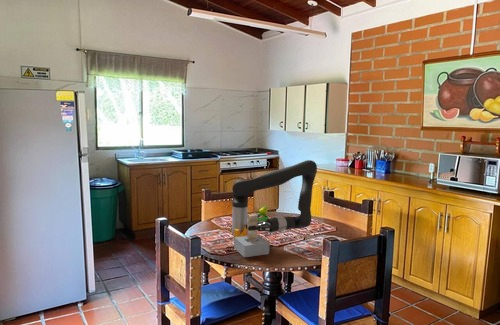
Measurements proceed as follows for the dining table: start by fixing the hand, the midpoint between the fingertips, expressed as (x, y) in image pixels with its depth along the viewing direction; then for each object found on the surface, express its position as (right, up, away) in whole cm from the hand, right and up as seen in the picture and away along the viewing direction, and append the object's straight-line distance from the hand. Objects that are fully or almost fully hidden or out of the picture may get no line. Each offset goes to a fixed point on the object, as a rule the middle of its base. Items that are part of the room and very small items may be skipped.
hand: (247, 227), depth 186 cm
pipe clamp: (-3, -11, +23) cm, 25 cm away
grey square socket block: (+2, -13, +3) cm, 13 cm away
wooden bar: (+2, -9, +2) cm, 10 cm away
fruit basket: (+9, -7, +57) cm, 58 cm away
